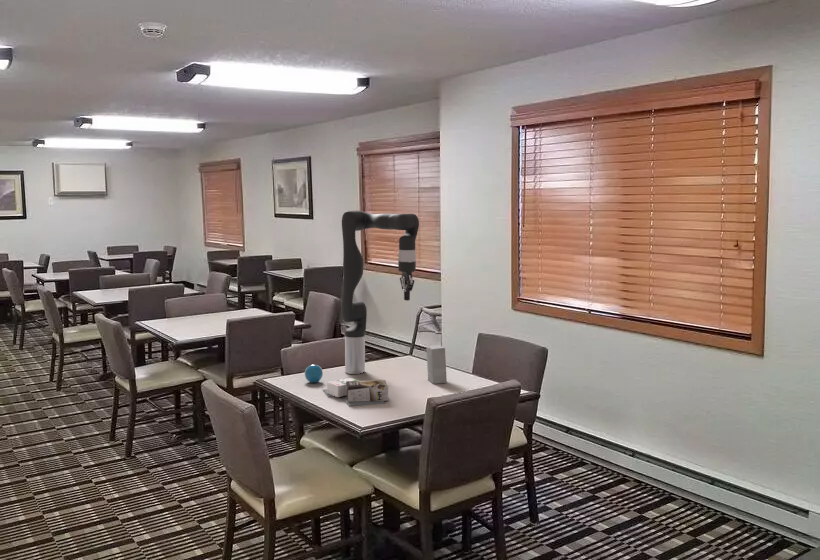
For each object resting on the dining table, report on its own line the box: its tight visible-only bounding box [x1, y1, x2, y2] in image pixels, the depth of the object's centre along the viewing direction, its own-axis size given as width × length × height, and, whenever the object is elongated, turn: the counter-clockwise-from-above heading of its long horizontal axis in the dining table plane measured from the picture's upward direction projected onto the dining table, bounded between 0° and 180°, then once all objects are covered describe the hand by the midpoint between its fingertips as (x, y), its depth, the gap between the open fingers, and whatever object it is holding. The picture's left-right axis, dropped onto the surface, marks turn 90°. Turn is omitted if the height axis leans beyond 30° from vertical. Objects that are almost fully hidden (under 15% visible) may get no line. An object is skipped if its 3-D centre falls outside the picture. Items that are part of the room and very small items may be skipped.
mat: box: [322, 388, 386, 407], centre depth 280 cm, size 26×20×1 cm
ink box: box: [326, 377, 360, 398], centre depth 284 cm, size 9×5×12 cm
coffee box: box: [345, 379, 389, 402], centre depth 276 cm, size 9×6×16 cm
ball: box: [304, 364, 324, 384], centre depth 302 cm, size 8×8×8 cm
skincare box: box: [425, 344, 448, 385], centre depth 304 cm, size 8×7×16 cm
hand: (406, 300), depth 297 cm, fingers closed
